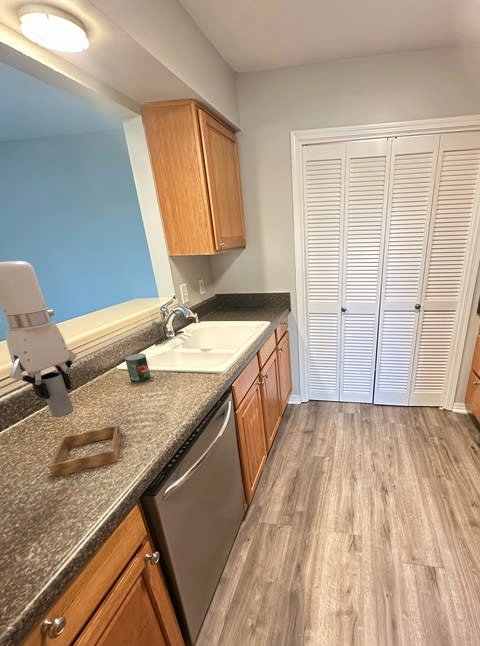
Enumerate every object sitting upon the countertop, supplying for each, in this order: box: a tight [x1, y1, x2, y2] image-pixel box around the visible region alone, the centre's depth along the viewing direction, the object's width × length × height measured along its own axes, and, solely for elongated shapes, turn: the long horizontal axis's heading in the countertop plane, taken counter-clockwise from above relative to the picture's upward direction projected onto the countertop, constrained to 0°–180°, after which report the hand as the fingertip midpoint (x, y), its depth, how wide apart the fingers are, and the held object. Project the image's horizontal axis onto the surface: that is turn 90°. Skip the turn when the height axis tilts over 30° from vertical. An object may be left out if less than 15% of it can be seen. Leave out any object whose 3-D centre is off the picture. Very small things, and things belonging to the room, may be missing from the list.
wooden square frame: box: [48, 424, 122, 478], centre depth 91 cm, size 15×15×4 cm
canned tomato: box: [124, 353, 152, 385], centre depth 136 cm, size 8×8×11 cm
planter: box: [41, 371, 75, 418], centre depth 79 cm, size 4×4×10 cm
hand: (55, 392), depth 79 cm, fingers closed on planter, 4 cm apart
